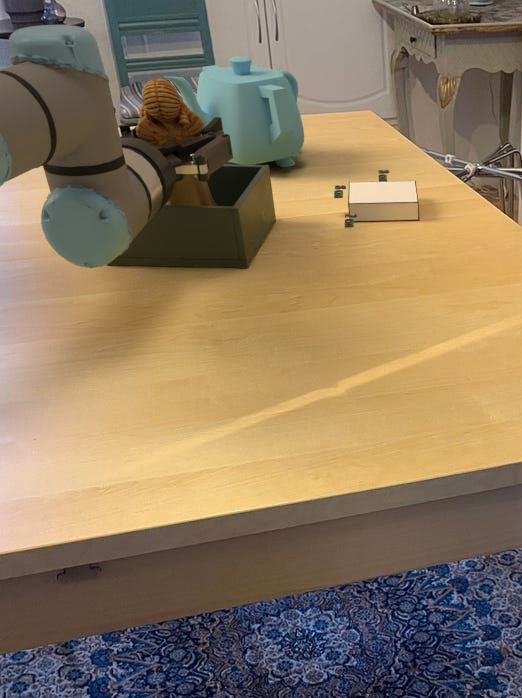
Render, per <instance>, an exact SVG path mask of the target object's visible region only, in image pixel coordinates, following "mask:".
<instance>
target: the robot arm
mask: <svg viewBox="0 0 522 698" xmlns="http://www.w3.org/2000/svg"><path fill="white" fill-rule="evenodd" d="M8 46H9V52H10V62H11V66H6V67H4V68H0V188H1V187H2V186H3V185H4V184H5V183H6V182H9V181H11V180H13V179H15V178H18V177H19V176H21V175H23V174H25V173H28V172H30V171H32V170H34V169H38V168H40V167H42V168H43V172H44V174H45V179H46V183H47V185H48V188H49V189H48V190H49V192H50V193H48V195H47V196H46V200H45V201H44V202H43V206H42V209H41V214H40V224H41V229H42V232H43V234H44V237H45V239H46V241H47V242H48V244H49V245H50V247H51V248H52V249H53V250H54V252H56V254H57V255H59V256H60V257H61V258H63V259H64V260H66V261H67V262H69V263H71V264H73V265H75V266H78V267H80V268H81V267H82V268H88V269H97V268H101V267H104V266H108V265H107V264H108V263H110V262H111V261H113V260H114V259H115V258H116V257H117V256H118V255H121V254H123V253H124V252H125V251H126V250H127V249H128V248H129V245H130V244H131V242H132V241H133V239H134V238H135V237H136V236H137V235H138V233H139V232H140V231H141V230H142V229H143V228H144V227H145V226H146V225H147V223H148V222H149V221H150V220H151V219H152V218H153V217H154V215H155V214H157V213H158V212H159V211H160V210H161V209H162V207H163V206H164V205H165V204H166V203H167V202H168V200H169V199H170V197H171V194H172V191H173V188H174V184H175V182H177V181H180V180H182V179H183V178H184V176H185V175H186V174H194V177H195V178H198V180H199V181H202V182H205V181H207V180H209V177H210V175H211V174H212V173H213V172H215V171H216V170H217V169H219V168H220V167H221V166H223V165H224V164H226V163H227V162H228V161H230V160H231V159H232V158H233V153H232V146H231V140H230V135H228V134H224V131H223V127H222V121H221V117H215V118H214V119H213V120H212V121H211V122H210V123H209V124H208V125H207V126H206V127H205V128H204V129H203V130H202V131H201V132H202V136H199V137H197V138H194V139H191V140H189V141H186V142H184V143H181V144H175V143H168V144H165V145H163V146H160V147H159V146H153V145H151V144H150V143H148V142H146V141H144V140H141V139H139V138H138V136H137V134H136V127H137V125H136V126H135V127H133V129H131V125H130V124H128V123H127V124H126V123H124V124H120V125H118V121H117V117H116V112H115V107H114V102H113V98H112V91H111V88H110V84H109V83H110V78H109V76H108V75H107V73H106V71H105V67H104V63H103V59H102V55H101V52H100V48H99V45H98V42H97V39H96V37H95V35H93V34H92V32H90V31H89V30H88V29H86V28H84V27H82V26H78V25H71V24H41V25H33V26H26V27H22V28H21V27H20V28H19V29H16V30H14V31H13V32H12V33H11V34H10V35H9V38H8Z"/></svg>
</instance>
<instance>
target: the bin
mask: <svg viewBox="0 0 522 698" xmlns="http://www.w3.org/2000/svg"><path fill="white" fill-rule="evenodd" d="M207 184H208V187H209V190H210V193H211V196H212V198H213V200H214V202H215V204H216V205H217V206H189V205H164V206H163V207H162V209H161V210H160V211H159V212H158V213H157V214H155V215H154V217H153V218H152V219H151V220H150V221H149V222H148V223H147V225H146V226H145V227H144V228H143V229H142V230H141V231H140V232H139V233H138V235H137V236H136V237H135V238H134V239H133V241H132V242H131V244H130V245H129V248H128V249H127V250H126V251H125V252H124V253H123V254H121V255H118V256H117V257H116V258H115V259H114V260H113V261H111V262H110V263H108V264H107V265H106V266H131V267H132V266H133V267H135V266H137V267H143V266H144V267H175V268H176V267H180V268H216V269H217V268H220V269H221V268H222V269H223V268H224V269H248V268H249V266H250V265H251V263H252V262H253V260H254V258H255V256H256V254H257V253H258V251H259V249H260V248H261V246H262V245H263V244H264V241H265V239H266V238H267V236H268V235H269V233H270V231H271V229H272V228H273V226H274V225H275V223H276V221H277V217H276V208H275V200H274V194H273V187H272V177H271V171H270V165H269V164H256V165H239V164H233V163H232V164H224V165H223V166H221V167H220V168H219V169H217V170H216V171H215V172H213V173H212V174H211V175H210V177H209V180H207Z"/></svg>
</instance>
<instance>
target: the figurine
mask: <svg viewBox="0 0 522 698" xmlns="http://www.w3.org/2000/svg"><path fill="white" fill-rule="evenodd" d="M141 100H142V105H141V106H140V112H139V114H140V115H139V120H138V122H137V125H136V126H137V127H136V126H135V127H136V134H137V136H138V138H139V139H141V140H144V141H146V142H148V143H150V144H151V145H153V146H159V147H160V146H163V145H165V144H168V143H175V144H181V143H184V142H186V141H189V140H191V139H194V138H197V137H199V136H201V134H202V132H201V131H202V130H203V129H204V123H203V121H202V119H201V118H200V117H199V116H198V114H197V113H195V112H192V111H190V108H188V107H187V105H185V104H184V102H183V99H182V97H181V96H180V94H179V92H178V90H177V87H176V86H175V84H174V83H172V82H171V81H170V80H168V79H166V78H158V77H156V78H154V79H150V80H148V81H147V82H145V84H144V85H143V87H142V90H141ZM165 205H189V206H217V205H216V204H215V202H214V200H213V198H212V196H211V193H210V190H209V187H208V184H207V181H205V182H202V181H199V180H198V178H195V177H194V174H186V175H185V176H184V178H183V179H182V180H180V181H177V182H175V184H174V188H173V191H172V194H171V197H170V199H169V200H168V202H167V203H166V204H165Z"/></svg>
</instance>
